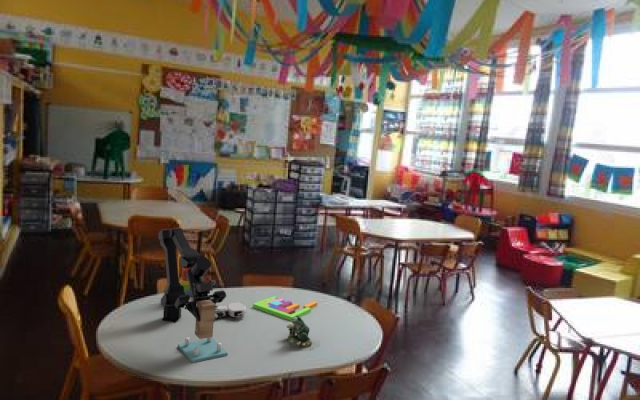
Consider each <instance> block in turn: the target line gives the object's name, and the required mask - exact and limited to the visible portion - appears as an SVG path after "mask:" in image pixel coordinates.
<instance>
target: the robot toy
mask: <svg viewBox="0 0 640 400" xmlns="http://www.w3.org/2000/svg"><path fill="white" fill-rule="evenodd" d="M246 310H247V308H246V305H245V304H243V301H240V302H230V303H229V304H228V305H227V306H226V305H215V313H214V318H222V317H225V316H228V315H229V316H230V317H231V318H232V317H233V318H236V319H239V318H241V317H243V316H245V315H246V314H247V311H246Z"/></svg>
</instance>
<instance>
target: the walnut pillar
mask: <svg viewBox="0 0 640 400" xmlns="http://www.w3.org/2000/svg"><path fill="white" fill-rule="evenodd" d="M215 306H216V305H215V304H214V303H213V302H212V301H211V300H203V301H197V309H198V312H199V316H200V322H199V321H198V320H197V319H196V318H195V324H194V325H195V326H194V335H195V336H196V337H197V338H198V339H199V340H204V339H207V338H213V335H214V334H213V333H214V322H215V317H214V313H215Z"/></svg>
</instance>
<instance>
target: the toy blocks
mask: <svg viewBox="0 0 640 400" xmlns="http://www.w3.org/2000/svg"><path fill="white" fill-rule="evenodd" d="M318 303H319V302H317V301H311V302H308V303H306V304H304V305H303V306H302V309H300V303H293V302H292V301H291V300H288V301H285V298H279V299H278V296H275V295H273V296H271V297H268V298H265V299H263V300H259V301H256V302H255V303H253V304H252V308H254V309H257V310H259V311H262V312H266V313H268V314H271V315H272V316H276V317H279V318H282V319H285V320H288V321H291V318H294V317H296V316H297V315H299V316H300V318H302V317H303V316H305V315H307V314H309V312H310V313H312V309H313V307H314V308H315V306H316V307H318ZM298 309H300V310H298ZM296 310H298V311H296Z"/></svg>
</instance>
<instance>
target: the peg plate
mask: <svg viewBox="0 0 640 400" xmlns="http://www.w3.org/2000/svg"><path fill="white" fill-rule="evenodd" d="M177 347H178V349H179V350H180V351H181V352H182V353H183V354H184V355H185V356H186V358H187V359H188V360H189V361H190V362H191V364H192V363H196V362H201V361H202V362H203V361H206V360H212V359H216V358H220V357H224V356H228V354H229V353H228V351H227V350H226V349H224V348H223V346H222V342H218V341H216V340H215V339H214V338H213V337H211V338H205V339H199V340H193V341H190V337H188V336H187V337H184V343H179V344H177Z"/></svg>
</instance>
